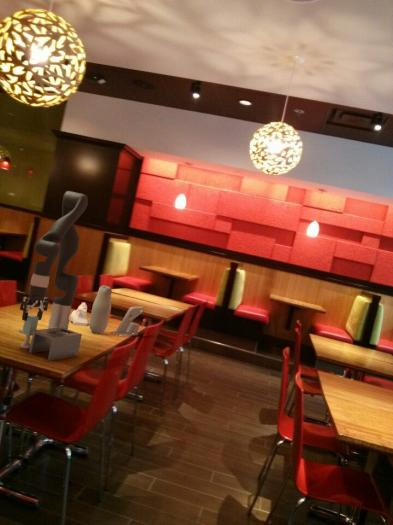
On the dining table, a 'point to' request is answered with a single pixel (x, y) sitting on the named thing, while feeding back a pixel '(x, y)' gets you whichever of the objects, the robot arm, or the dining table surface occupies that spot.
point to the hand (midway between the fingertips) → (31, 320)
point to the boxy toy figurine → (29, 329)
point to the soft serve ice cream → (80, 315)
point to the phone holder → (129, 322)
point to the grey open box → (56, 342)
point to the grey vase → (101, 310)
